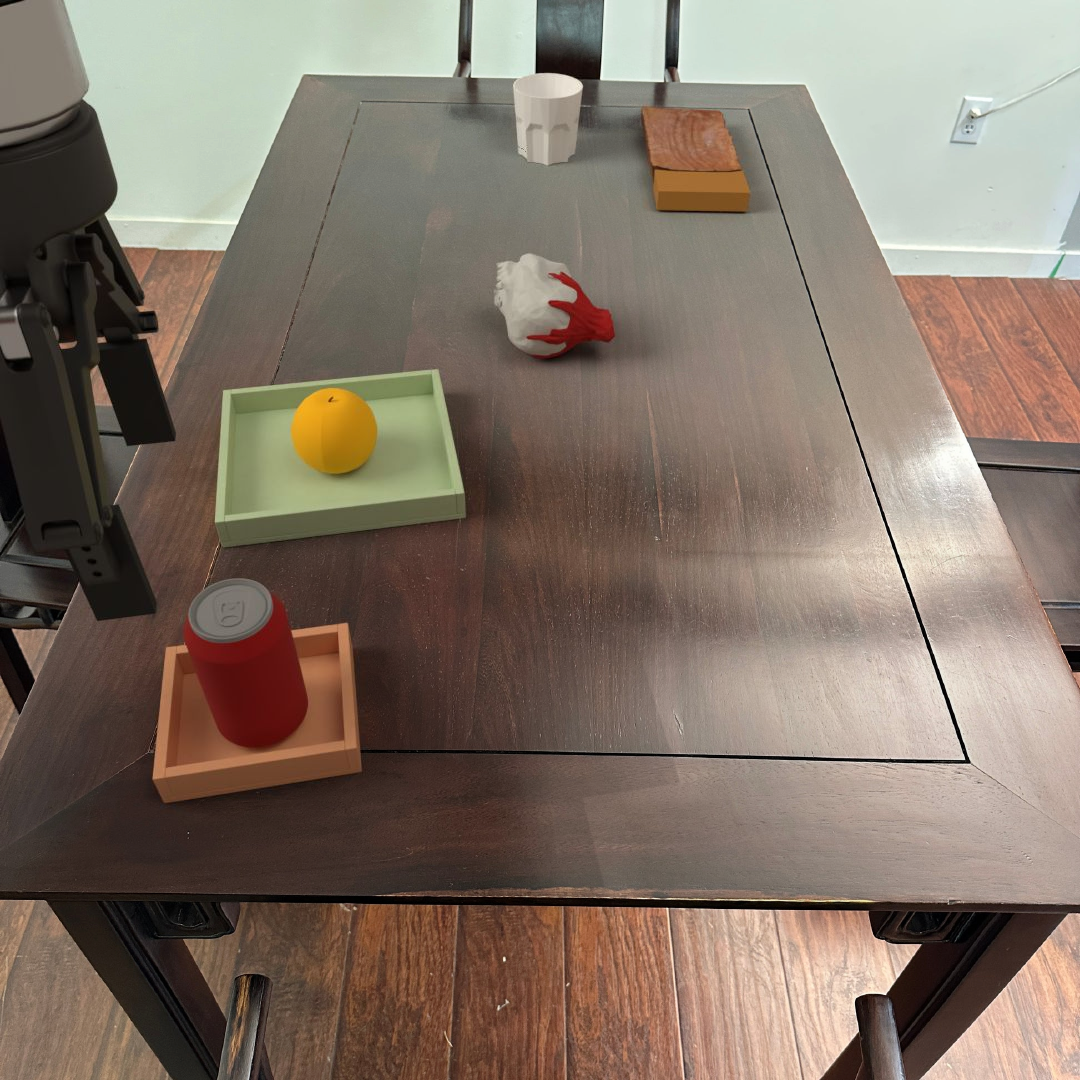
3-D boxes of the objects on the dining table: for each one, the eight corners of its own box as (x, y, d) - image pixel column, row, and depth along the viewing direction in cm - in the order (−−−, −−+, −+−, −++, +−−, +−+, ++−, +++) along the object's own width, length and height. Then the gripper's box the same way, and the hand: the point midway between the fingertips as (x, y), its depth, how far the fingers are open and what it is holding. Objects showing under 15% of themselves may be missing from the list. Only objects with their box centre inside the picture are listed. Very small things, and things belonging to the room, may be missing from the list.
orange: (328, 425, 96) (317, 362, 91) (396, 447, 94) (389, 383, 89) (280, 472, 91) (265, 407, 86) (350, 496, 89) (340, 432, 84)
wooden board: (653, 212, 132) (655, 188, 130) (638, 126, 154) (640, 105, 152) (748, 213, 132) (752, 190, 130) (720, 128, 154) (723, 106, 152)
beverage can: (310, 673, 74) (283, 565, 66) (310, 747, 70) (282, 640, 61) (220, 684, 73) (181, 576, 65) (214, 760, 69) (171, 653, 60)
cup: (588, 146, 148) (592, 79, 141) (566, 172, 141) (569, 102, 134) (528, 136, 150) (528, 69, 143) (503, 161, 144) (502, 92, 137)
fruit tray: (222, 548, 85) (214, 522, 83) (229, 415, 98) (223, 390, 96) (466, 518, 88) (464, 492, 86) (440, 393, 102) (438, 368, 100)
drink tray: (164, 803, 67) (152, 779, 65) (176, 672, 75) (165, 647, 73) (362, 772, 69) (356, 747, 67) (352, 647, 77) (347, 622, 75)
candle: (494, 305, 113) (617, 336, 112) (467, 356, 105) (600, 390, 104) (502, 234, 107) (633, 267, 106) (475, 284, 99) (616, 319, 98)
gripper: (-42, 15, 45) (96, 390, 60) (-241, 283, 28) (24, 718, 42) (126, 8, 46) (221, 378, 61) (37, 262, 29) (201, 693, 44)
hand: (140, 518), depth 52 cm, fingers open, 13 cm apart
